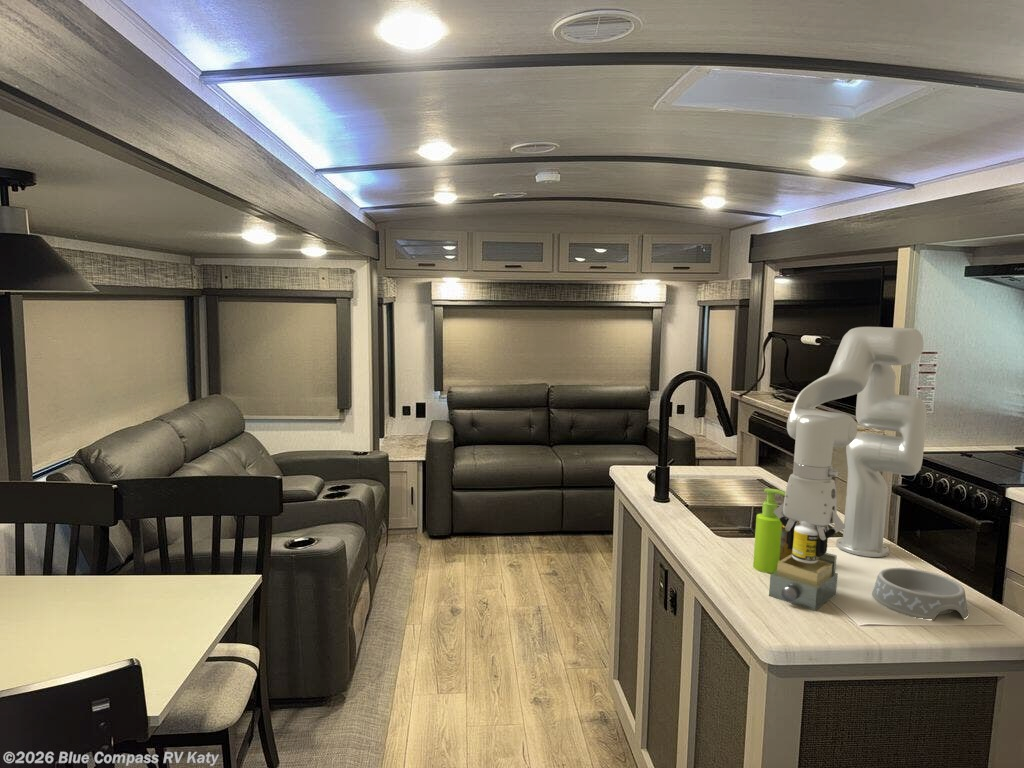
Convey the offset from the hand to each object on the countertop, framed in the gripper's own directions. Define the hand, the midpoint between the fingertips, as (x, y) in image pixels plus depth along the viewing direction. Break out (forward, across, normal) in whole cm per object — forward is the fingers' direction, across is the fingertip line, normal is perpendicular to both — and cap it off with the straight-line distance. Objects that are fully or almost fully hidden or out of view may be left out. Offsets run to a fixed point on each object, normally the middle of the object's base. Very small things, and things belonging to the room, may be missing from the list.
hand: (805, 550), depth 144 cm
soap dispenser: (+10, +12, -9) cm, 18 cm away
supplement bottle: (+2, 0, 0) cm, 2 cm away
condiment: (+10, +12, -19) cm, 25 cm away
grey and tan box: (+10, 0, 0) cm, 10 cm away
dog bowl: (+11, -19, -16) cm, 27 cm away
